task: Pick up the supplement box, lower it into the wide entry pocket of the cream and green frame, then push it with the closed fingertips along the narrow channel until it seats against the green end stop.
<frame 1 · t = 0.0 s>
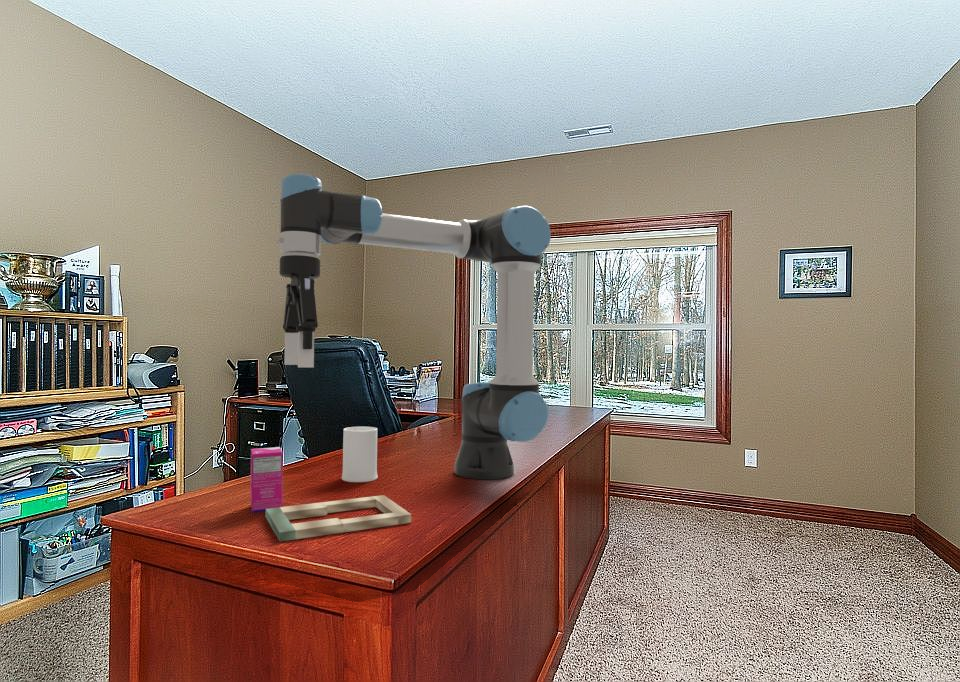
hand: (298, 366, 111), 28 cm above the table, fingers open, 13 cm apart
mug: (362, 477, 141), on the table
supplement box: (266, 509, 113), on the table
cream and green frame: (337, 519, 106), on the table
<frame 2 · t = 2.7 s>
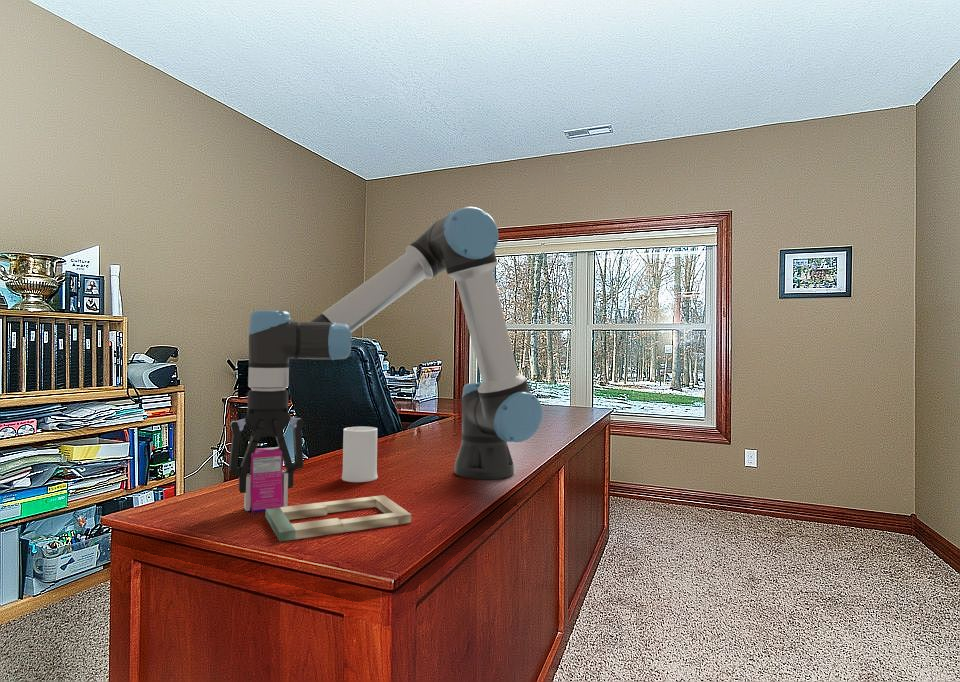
hand: (265, 506, 113), 0 cm above the table, fingers closed on supplement box, 6 cm apart
supplement box: (265, 509, 113), on the table, touching gripper
everything else where it was.
when the fingers open (1 cm above the table, at t = 7.7 s): supplement box drops 1 cm, resting in cream and green frame.
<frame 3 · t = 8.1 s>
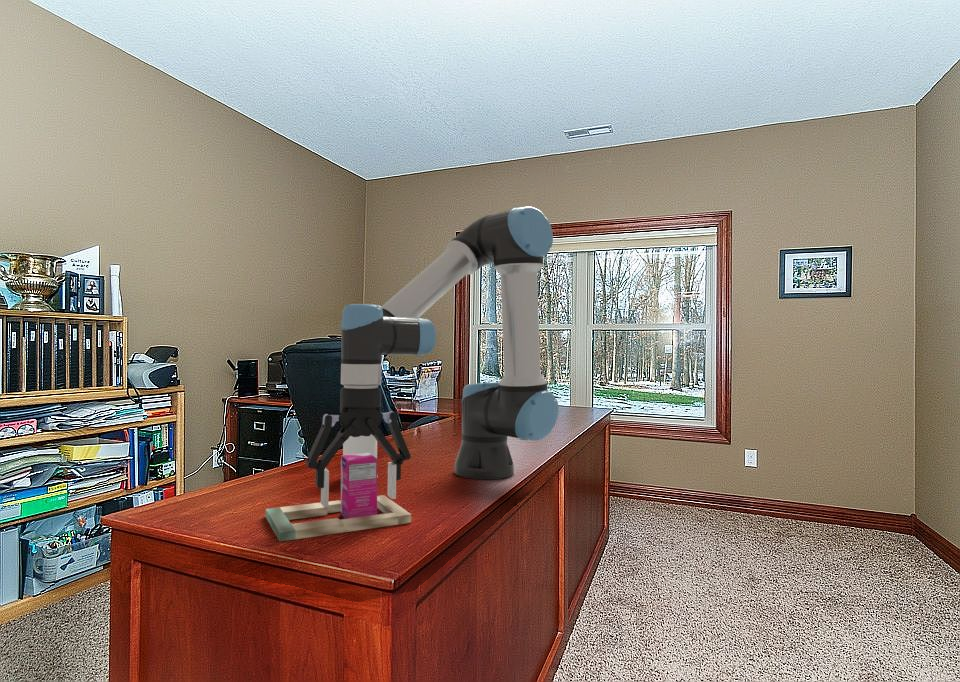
hand: (359, 501, 108), 3 cm above the table, fingers open, 12 cm apart
supplement box: (358, 518, 108), resting in cream and green frame
everything else where it was.
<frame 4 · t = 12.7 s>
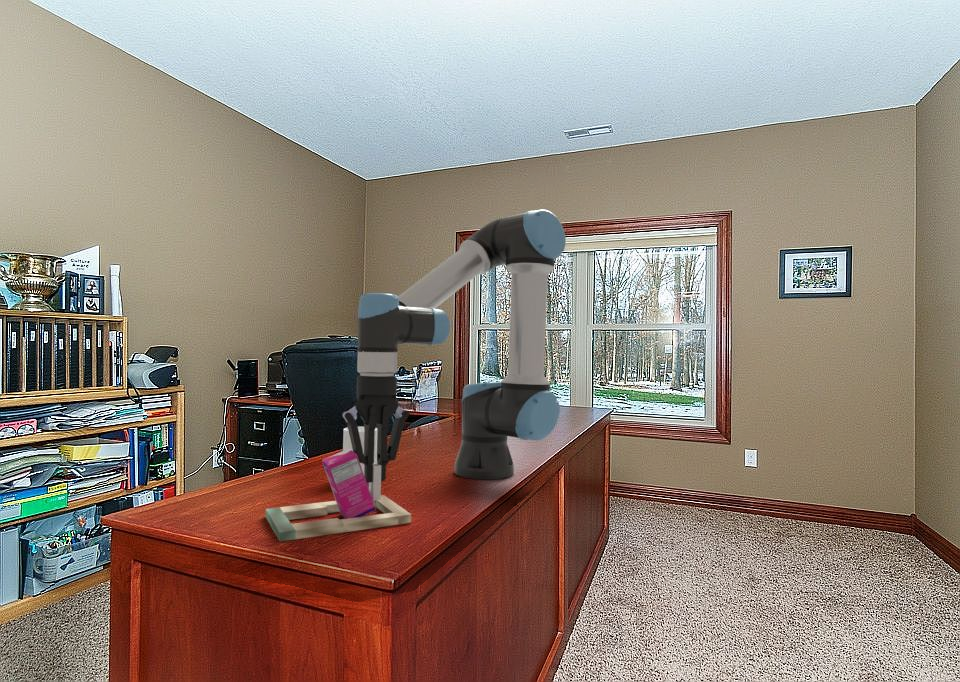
hand: (374, 498, 109), 3 cm above the table, fingers closed
supplement box: (358, 513, 108), point 1 cm above the table, touching gripper, hand
everything else where it was.
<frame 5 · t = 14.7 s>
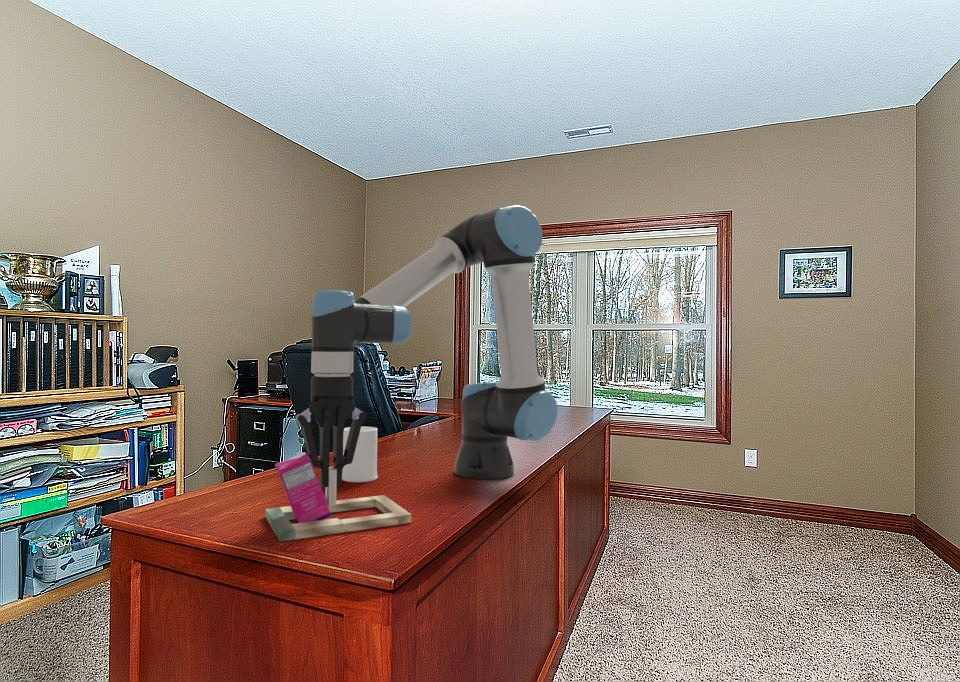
hand: (330, 504, 105), 3 cm above the table, fingers closed
supplement box: (313, 519, 104), point 1 cm above the table, touching gripper, hand
everything else where it was.
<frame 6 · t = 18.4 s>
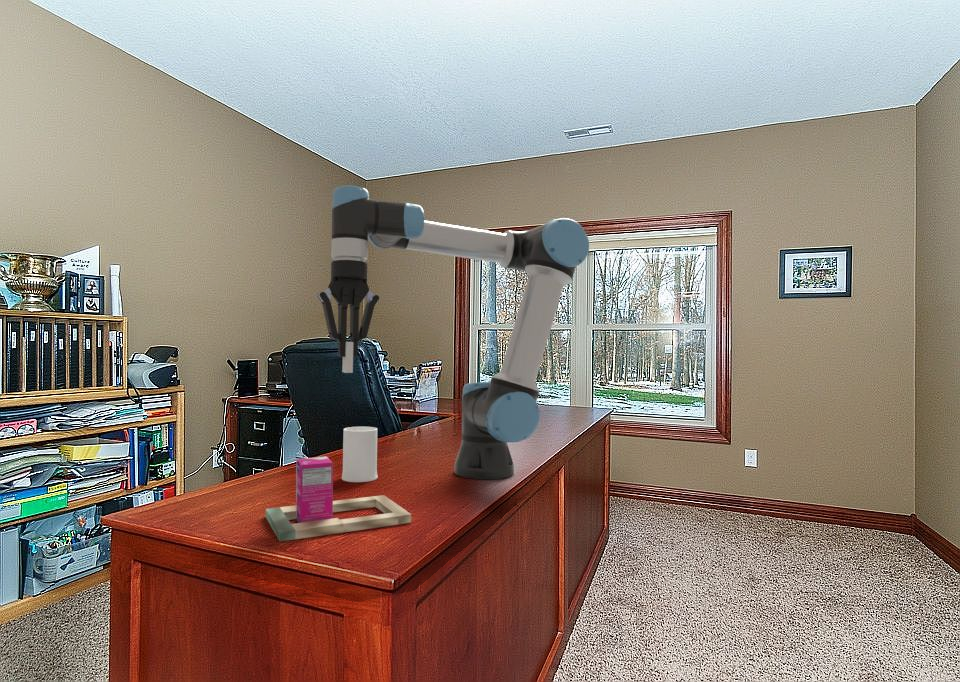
hand: (347, 372, 121), 26 cm above the table, fingers closed
supplement box: (313, 524, 104), resting in cream and green frame
everything else where it was.
at the end: supplement box 1.7 cm from the target spot, resting in cream and green frame; supplement box tilted 0° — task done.
